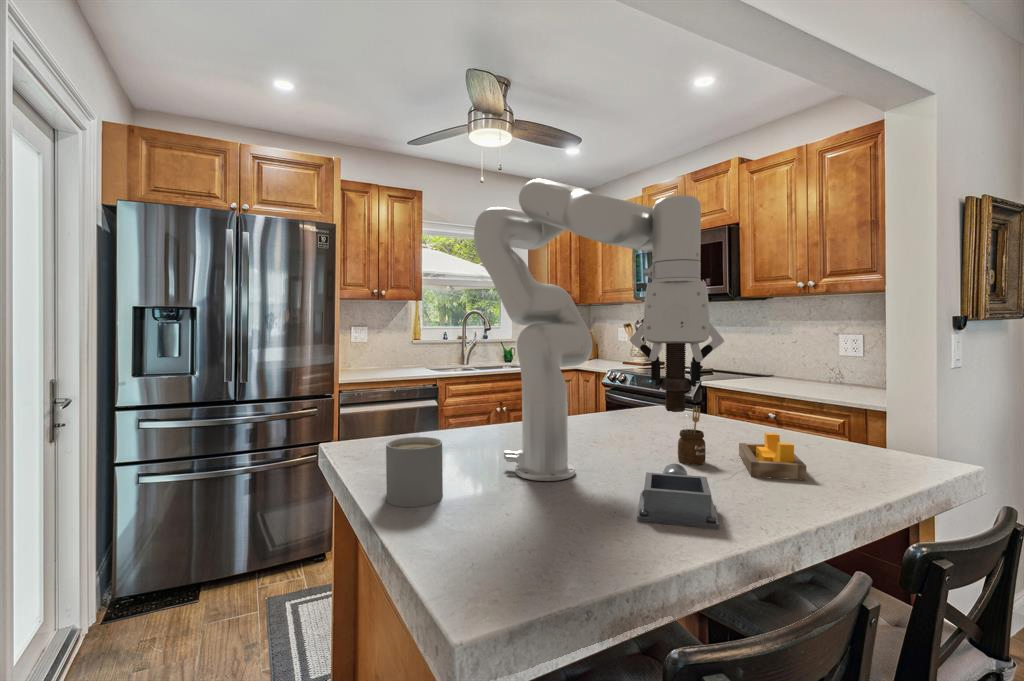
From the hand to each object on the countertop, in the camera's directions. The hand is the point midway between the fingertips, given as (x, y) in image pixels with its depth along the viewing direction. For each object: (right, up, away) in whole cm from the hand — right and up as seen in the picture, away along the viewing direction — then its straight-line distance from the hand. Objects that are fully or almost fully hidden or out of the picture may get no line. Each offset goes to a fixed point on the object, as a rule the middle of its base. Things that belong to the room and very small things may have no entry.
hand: (675, 384), depth 83 cm
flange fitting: (+1, -21, +4) cm, 21 cm away
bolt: (0, -5, 0) cm, 5 cm away
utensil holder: (+14, -21, +32) cm, 40 cm away
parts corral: (+29, -20, +27) cm, 45 cm away
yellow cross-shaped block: (+30, -21, +27) cm, 46 cm away
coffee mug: (-45, -22, +10) cm, 51 cm away
